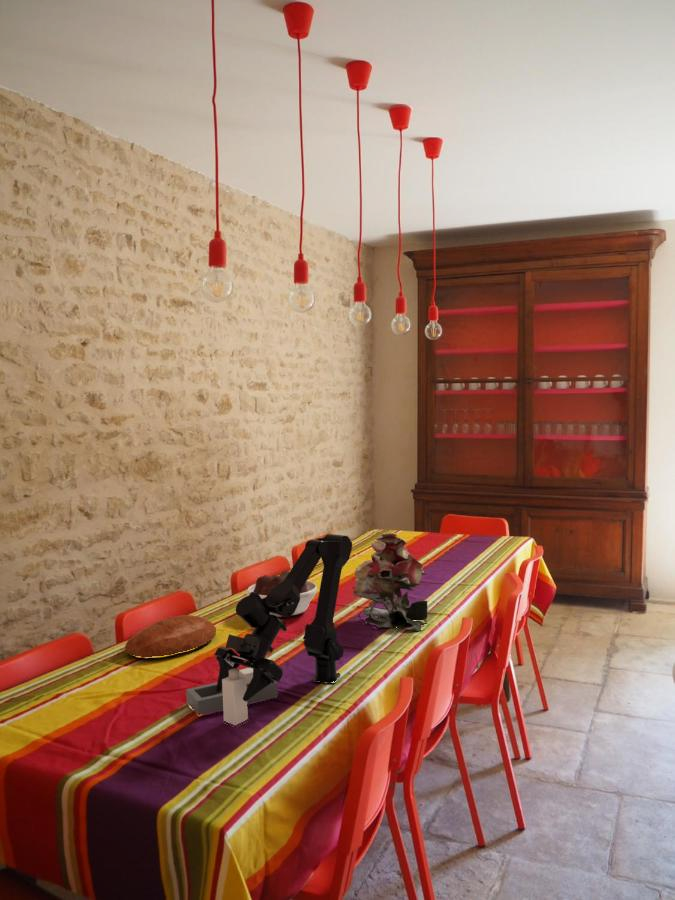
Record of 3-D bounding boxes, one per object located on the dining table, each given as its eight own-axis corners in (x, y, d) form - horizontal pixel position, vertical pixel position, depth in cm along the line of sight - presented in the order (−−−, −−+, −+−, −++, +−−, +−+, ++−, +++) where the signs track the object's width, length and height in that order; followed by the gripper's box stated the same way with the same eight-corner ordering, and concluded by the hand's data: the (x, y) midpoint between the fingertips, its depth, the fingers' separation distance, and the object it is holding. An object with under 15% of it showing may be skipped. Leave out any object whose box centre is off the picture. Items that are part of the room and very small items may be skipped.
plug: (236, 716, 177) (234, 666, 176) (247, 721, 174) (245, 669, 174) (223, 722, 174) (221, 671, 173) (235, 727, 171) (233, 674, 171)
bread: (108, 657, 224) (107, 628, 223) (180, 627, 251) (178, 602, 251) (164, 668, 213) (162, 638, 212) (232, 636, 240) (231, 609, 240)
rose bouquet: (427, 607, 266) (425, 525, 264) (429, 632, 237) (426, 540, 235) (356, 607, 269) (353, 526, 267) (349, 632, 240) (347, 541, 238)
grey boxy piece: (263, 686, 195) (262, 661, 195) (277, 698, 188) (276, 671, 187) (186, 704, 185) (185, 677, 185) (198, 717, 177) (197, 689, 177)
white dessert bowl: (316, 622, 251) (314, 579, 250) (243, 624, 252) (241, 581, 251) (319, 603, 276) (318, 563, 275) (253, 604, 277) (251, 565, 276)
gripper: (218, 614, 182) (184, 671, 174) (272, 626, 170) (238, 688, 162) (242, 637, 188) (211, 693, 181) (296, 650, 176) (265, 711, 169)
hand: (230, 696), depth 173 cm, fingers open, 9 cm apart
